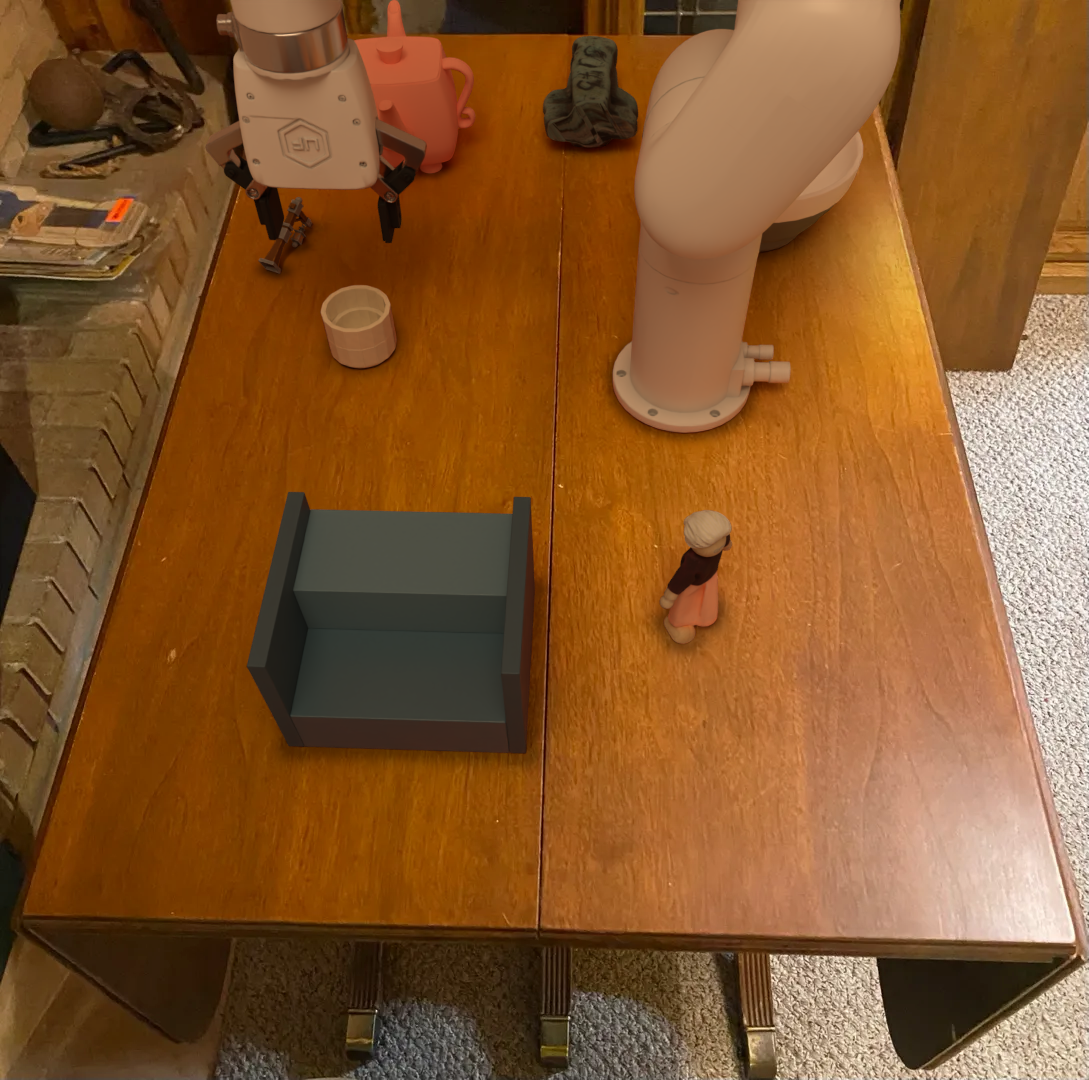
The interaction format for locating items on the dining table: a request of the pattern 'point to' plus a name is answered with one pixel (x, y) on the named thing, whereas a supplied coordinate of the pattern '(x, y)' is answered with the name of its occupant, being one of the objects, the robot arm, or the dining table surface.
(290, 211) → the wooden post with brackets
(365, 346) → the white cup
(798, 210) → the bowl
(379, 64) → the teapot
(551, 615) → the dining table surface
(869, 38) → the robot arm
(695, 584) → the grandmother figurine
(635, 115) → the sculpture
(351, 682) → the step shelf
